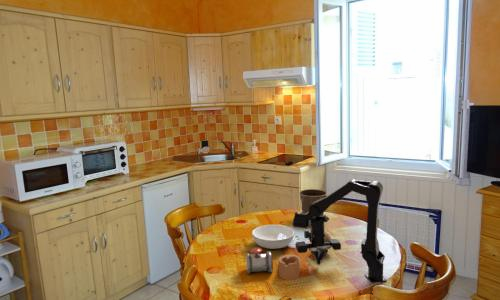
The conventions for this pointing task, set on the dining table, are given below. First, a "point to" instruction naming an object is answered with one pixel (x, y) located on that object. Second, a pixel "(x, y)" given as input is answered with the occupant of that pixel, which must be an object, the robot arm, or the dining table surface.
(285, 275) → the brown hollow cylinder
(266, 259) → the valve stub
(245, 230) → the dining table surface
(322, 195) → the plant pot
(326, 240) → the natural sponge
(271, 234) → the serving bowl
